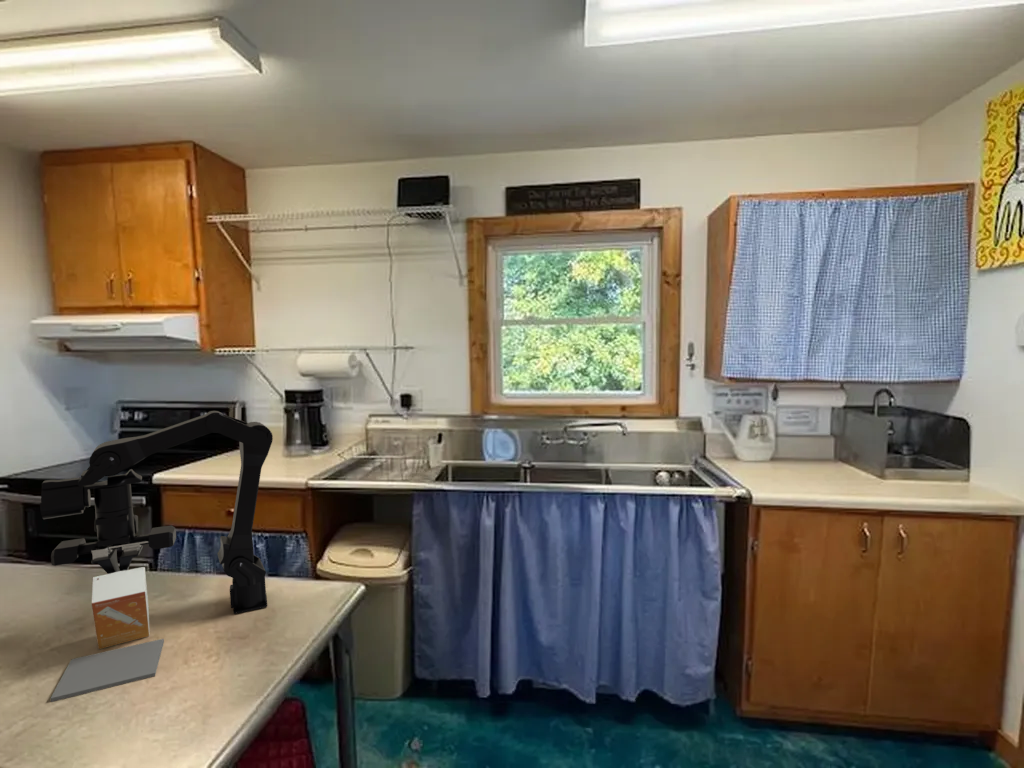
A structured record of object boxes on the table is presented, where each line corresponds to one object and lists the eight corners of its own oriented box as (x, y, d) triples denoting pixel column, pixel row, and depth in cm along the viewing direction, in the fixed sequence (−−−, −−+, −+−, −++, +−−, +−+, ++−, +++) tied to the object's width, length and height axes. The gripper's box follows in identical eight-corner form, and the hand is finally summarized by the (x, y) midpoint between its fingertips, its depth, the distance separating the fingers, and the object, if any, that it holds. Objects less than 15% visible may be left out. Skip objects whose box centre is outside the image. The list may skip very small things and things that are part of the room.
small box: (98, 650, 101) (89, 603, 95) (99, 622, 105) (91, 576, 99) (150, 636, 105) (145, 591, 99) (149, 610, 110) (144, 565, 104)
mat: (163, 641, 103) (163, 638, 103) (154, 676, 93) (154, 672, 92) (71, 662, 97) (71, 659, 97) (50, 701, 86) (50, 698, 86)
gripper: (176, 490, 114) (181, 562, 116) (64, 504, 106) (71, 581, 107) (169, 505, 104) (175, 583, 106) (46, 521, 96) (54, 605, 97)
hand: (121, 587), depth 104 cm, fingers closed
